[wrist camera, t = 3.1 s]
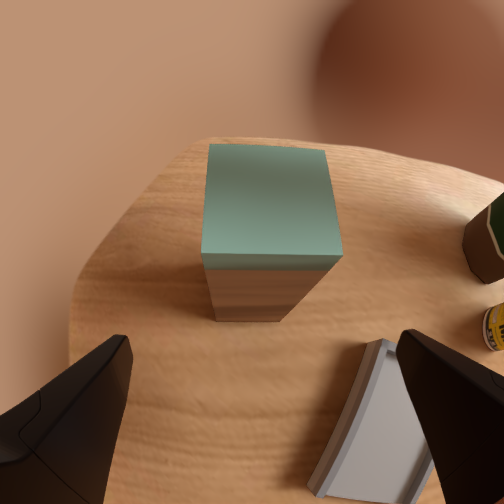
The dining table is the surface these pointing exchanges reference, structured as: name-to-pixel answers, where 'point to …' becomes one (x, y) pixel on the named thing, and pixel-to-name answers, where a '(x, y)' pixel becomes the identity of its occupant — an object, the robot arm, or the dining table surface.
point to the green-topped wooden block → (266, 229)
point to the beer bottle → (486, 242)
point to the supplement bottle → (494, 327)
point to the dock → (375, 438)
